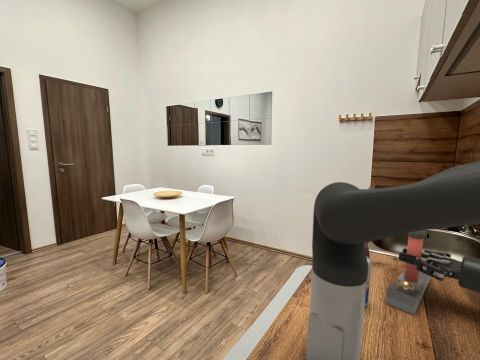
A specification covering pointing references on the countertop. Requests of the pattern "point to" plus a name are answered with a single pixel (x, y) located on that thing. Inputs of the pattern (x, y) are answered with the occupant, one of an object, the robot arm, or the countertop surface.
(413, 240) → the handle
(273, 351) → the countertop surface
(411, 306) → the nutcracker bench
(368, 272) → the energy drink
